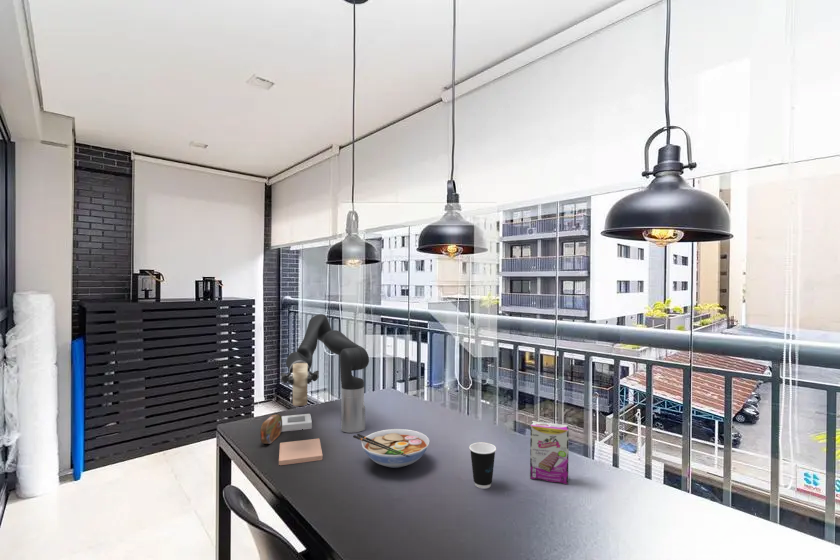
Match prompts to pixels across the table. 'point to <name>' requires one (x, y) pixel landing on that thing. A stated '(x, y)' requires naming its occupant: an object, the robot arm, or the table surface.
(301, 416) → the pocket block
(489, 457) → the dixie cup
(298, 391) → the maple plug
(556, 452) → the candy bar box
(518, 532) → the table surface
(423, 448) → the ramen bowl
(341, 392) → the robot arm
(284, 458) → the terracotta tile
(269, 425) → the tin
